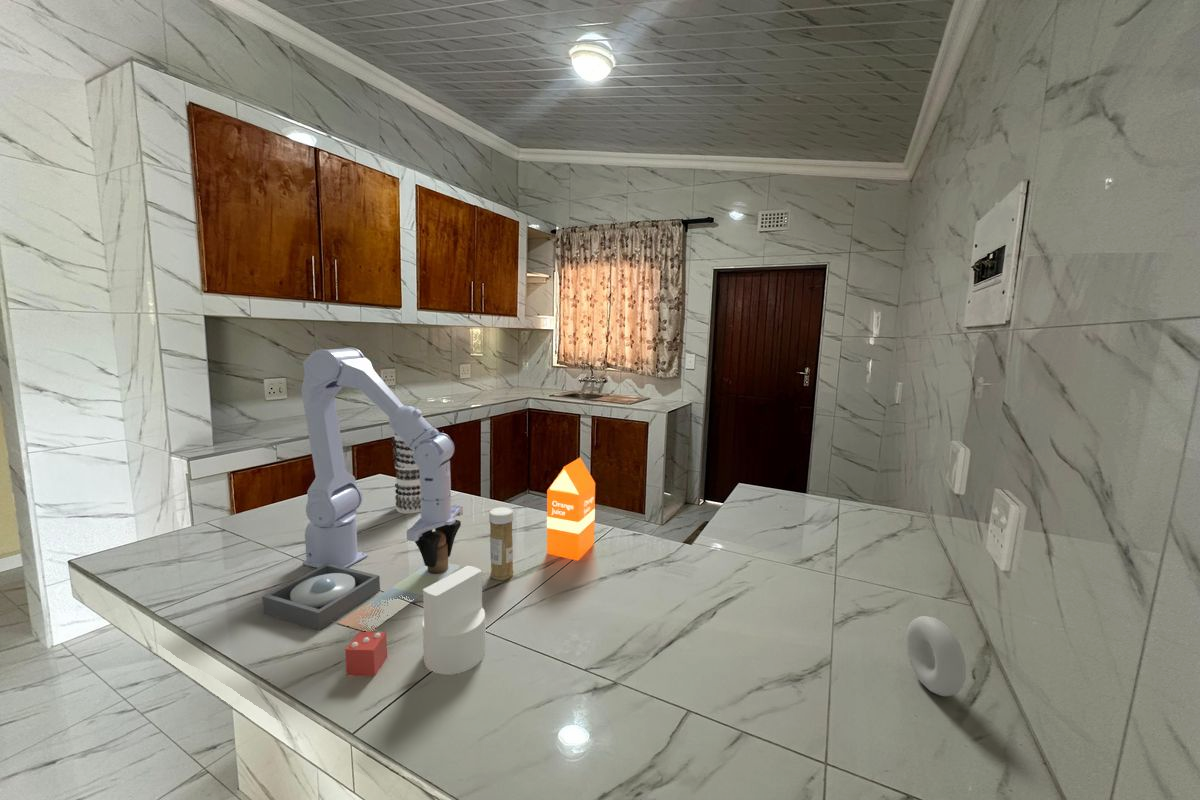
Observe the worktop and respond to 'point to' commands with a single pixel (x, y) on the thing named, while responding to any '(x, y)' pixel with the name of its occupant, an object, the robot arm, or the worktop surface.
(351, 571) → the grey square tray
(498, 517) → the sprinkles bottle
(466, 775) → the worktop surface
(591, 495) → the orange juice
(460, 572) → the cylinder with rectangular tab
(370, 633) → the red die
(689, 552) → the worktop surface
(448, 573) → the strip
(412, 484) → the decorative candle
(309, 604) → the dome
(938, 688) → the donut
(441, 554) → the walnut pawn
